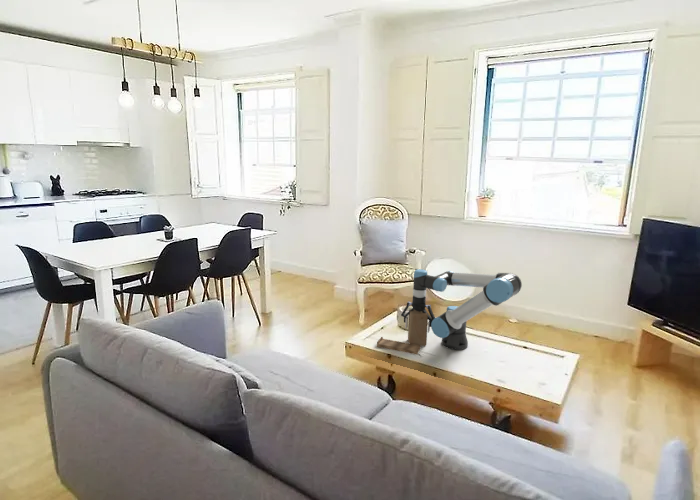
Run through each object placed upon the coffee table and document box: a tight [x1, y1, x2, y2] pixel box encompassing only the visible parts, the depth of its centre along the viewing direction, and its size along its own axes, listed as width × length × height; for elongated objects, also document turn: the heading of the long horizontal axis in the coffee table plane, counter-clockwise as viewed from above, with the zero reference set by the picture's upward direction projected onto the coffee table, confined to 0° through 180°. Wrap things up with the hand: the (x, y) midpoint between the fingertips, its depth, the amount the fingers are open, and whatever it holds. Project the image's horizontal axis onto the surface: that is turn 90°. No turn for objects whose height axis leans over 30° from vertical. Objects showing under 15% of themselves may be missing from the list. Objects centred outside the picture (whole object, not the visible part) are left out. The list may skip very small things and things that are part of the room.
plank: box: [376, 336, 422, 355], centre depth 257 cm, size 24×8×3 cm, turn 67°
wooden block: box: [407, 308, 429, 347], centre depth 262 cm, size 10×10×20 cm
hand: (417, 329), depth 262 cm, fingers open, 13 cm apart
